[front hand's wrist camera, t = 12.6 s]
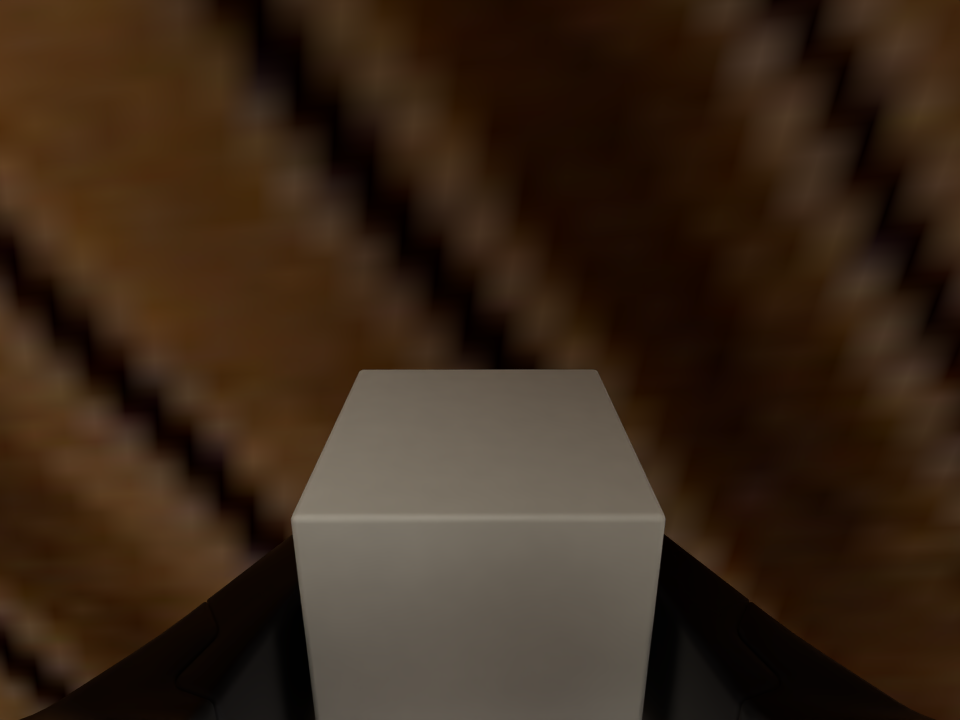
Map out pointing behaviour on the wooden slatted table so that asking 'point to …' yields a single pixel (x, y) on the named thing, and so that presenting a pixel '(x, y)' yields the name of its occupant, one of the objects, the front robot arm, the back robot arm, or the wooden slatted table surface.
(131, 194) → the wooden slatted table surface
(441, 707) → the block
